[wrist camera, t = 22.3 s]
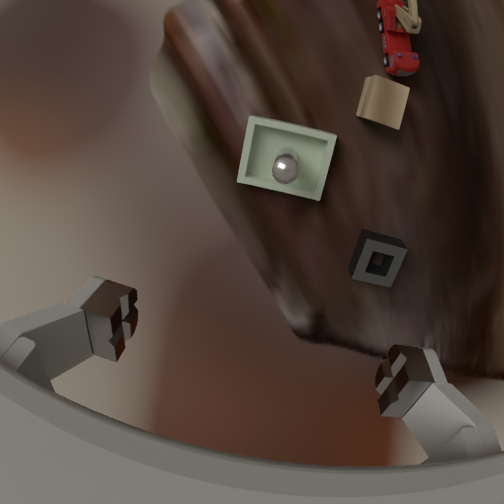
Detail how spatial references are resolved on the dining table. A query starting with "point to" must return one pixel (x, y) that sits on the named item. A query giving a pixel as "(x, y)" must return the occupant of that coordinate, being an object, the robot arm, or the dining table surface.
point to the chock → (383, 101)
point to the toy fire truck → (398, 35)
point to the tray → (276, 137)
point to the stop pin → (285, 166)
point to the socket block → (372, 272)
